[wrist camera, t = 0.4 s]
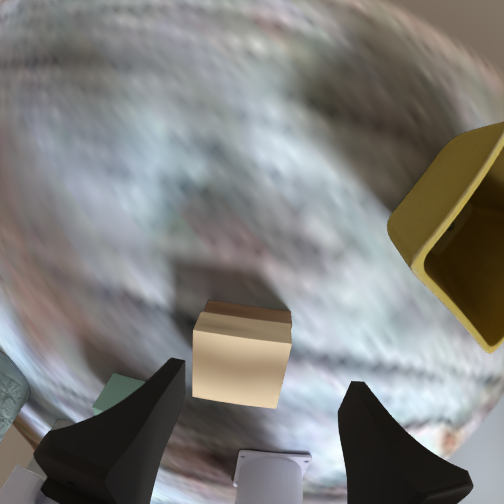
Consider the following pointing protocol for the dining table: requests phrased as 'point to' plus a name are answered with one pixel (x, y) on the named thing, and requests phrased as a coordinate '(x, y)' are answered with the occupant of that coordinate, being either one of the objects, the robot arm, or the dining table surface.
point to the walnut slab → (248, 312)
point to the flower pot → (460, 231)
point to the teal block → (115, 392)
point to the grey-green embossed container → (11, 392)
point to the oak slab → (239, 359)
